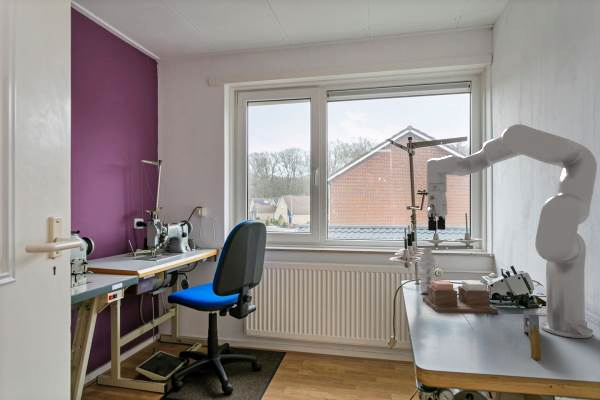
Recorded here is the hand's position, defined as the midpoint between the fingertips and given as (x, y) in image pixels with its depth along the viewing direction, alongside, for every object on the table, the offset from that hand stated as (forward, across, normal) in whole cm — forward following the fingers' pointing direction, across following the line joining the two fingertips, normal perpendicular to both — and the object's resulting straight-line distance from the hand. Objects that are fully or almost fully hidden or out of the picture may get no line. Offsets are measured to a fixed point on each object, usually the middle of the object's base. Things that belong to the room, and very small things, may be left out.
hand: (436, 230), depth 141 cm
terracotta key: (+25, -6, -4) cm, 26 cm away
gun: (+30, -26, -36) cm, 53 cm away
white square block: (+25, +2, -13) cm, 28 cm away
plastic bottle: (+30, +10, +8) cm, 32 cm away
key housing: (+29, -2, -9) cm, 31 cm away
